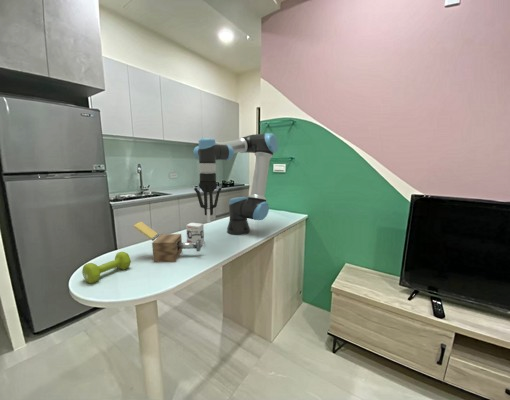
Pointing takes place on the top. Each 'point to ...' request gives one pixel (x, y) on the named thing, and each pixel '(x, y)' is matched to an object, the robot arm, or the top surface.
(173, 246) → the block
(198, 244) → the pin
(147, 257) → the top surface
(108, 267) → the dumbbell
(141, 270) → the top surface
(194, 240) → the ink box
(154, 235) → the tan flat board
